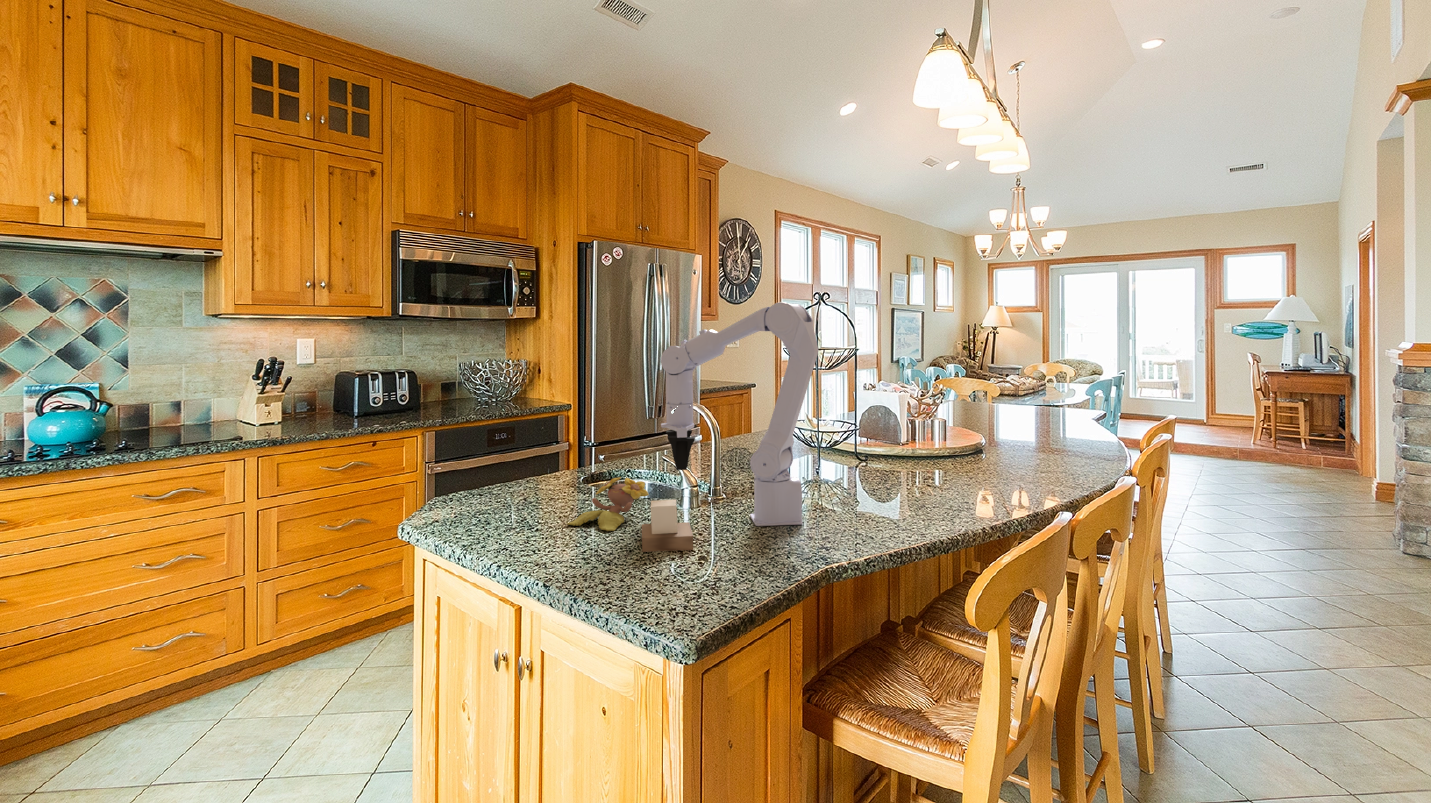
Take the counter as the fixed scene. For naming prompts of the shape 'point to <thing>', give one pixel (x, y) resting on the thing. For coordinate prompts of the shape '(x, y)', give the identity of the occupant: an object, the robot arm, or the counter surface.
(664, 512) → the ceramic cube
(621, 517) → the figurine
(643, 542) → the walnut block
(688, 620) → the counter surface
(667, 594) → the counter surface
